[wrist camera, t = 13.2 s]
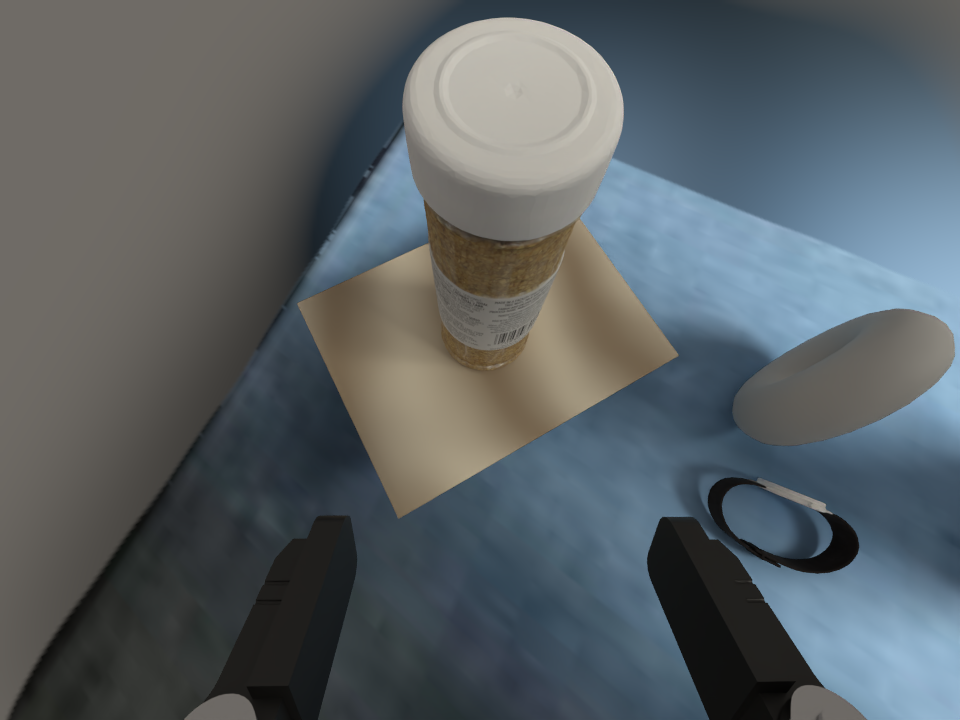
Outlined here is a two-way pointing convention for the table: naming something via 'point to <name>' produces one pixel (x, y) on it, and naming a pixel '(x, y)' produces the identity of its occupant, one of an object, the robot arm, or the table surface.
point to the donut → (845, 378)
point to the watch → (843, 534)
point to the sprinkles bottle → (505, 171)
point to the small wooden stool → (469, 392)
